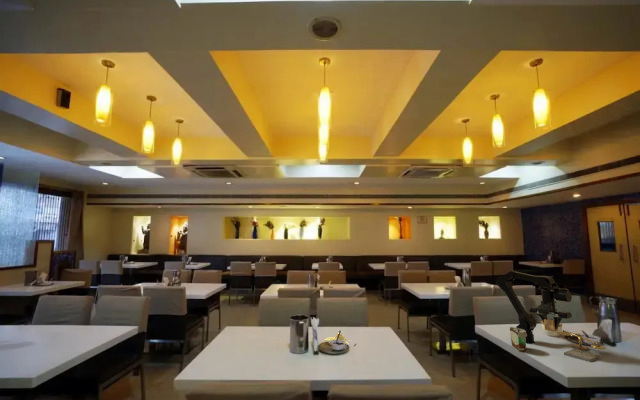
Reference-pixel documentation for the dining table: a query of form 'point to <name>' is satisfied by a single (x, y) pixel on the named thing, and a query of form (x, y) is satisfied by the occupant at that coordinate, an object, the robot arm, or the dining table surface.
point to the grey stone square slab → (582, 355)
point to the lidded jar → (551, 333)
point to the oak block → (550, 325)
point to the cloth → (336, 338)
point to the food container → (518, 339)
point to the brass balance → (597, 344)
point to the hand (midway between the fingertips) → (551, 328)
